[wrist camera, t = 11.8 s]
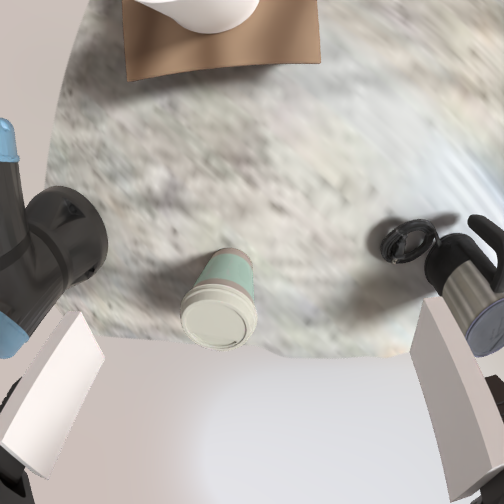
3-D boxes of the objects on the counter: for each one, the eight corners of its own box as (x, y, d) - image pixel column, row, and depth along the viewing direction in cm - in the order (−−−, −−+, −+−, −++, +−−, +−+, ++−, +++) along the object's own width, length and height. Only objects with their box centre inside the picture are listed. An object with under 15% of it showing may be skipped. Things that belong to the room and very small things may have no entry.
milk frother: (473, 279, 41) (517, 345, 28) (383, 304, 45) (409, 382, 32) (477, 194, 35) (542, 248, 22) (374, 217, 38) (413, 286, 25)
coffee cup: (188, 267, 44) (161, 325, 34) (226, 225, 41) (206, 280, 30) (235, 302, 47) (222, 364, 36) (276, 265, 43) (273, 328, 33)
